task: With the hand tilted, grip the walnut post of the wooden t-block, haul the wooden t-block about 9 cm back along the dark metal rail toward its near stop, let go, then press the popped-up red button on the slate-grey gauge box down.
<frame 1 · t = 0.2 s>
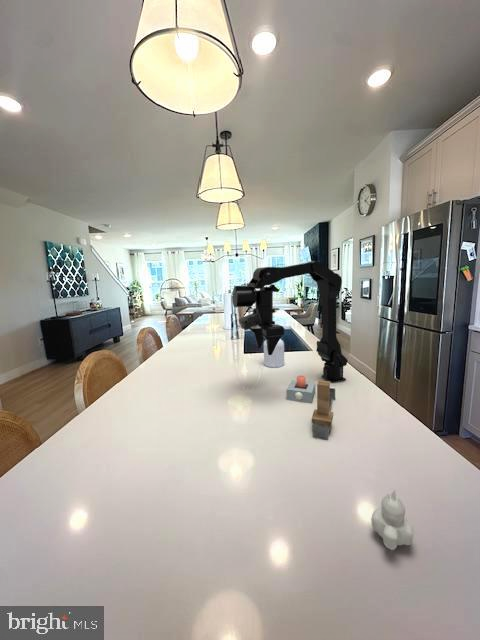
hand: (264, 351, 91), 14 cm above the counter, tool pointing down, fingers open, 9 cm apart
rail: (325, 414, 76), on the counter
soap bottle: (274, 364, 120), on the counter
gauge box: (301, 395, 88), on the counter
white animal figurine: (390, 540, 40), on the counter
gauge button: (301, 382, 88), point 5 cm above the counter, slide at 0.0 cm
wooden t-block: (322, 404, 69), point 7 cm above the counter, slide at 0.0 cm
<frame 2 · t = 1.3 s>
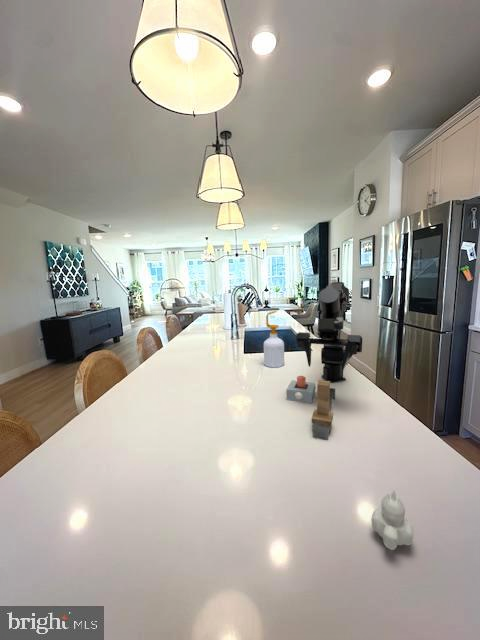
hand: (325, 367, 76), 13 cm above the counter, tool tilted 45°, fingers open, 9 cm apart
nothing on the counter moved.
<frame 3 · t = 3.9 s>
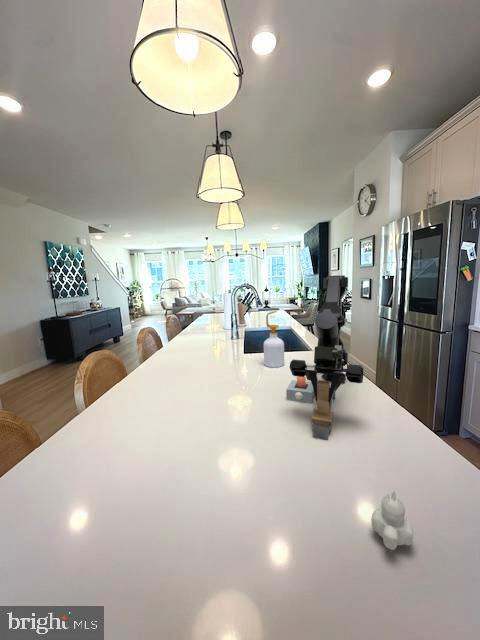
hand: (322, 401, 68), 8 cm above the counter, tool tilted 45°, fingers closed on wooden t-block, 3 cm apart
wooden t-block: (322, 404, 69), point 7 cm above the counter, slide at 0.0 cm, touching gripper
everything else where it was.
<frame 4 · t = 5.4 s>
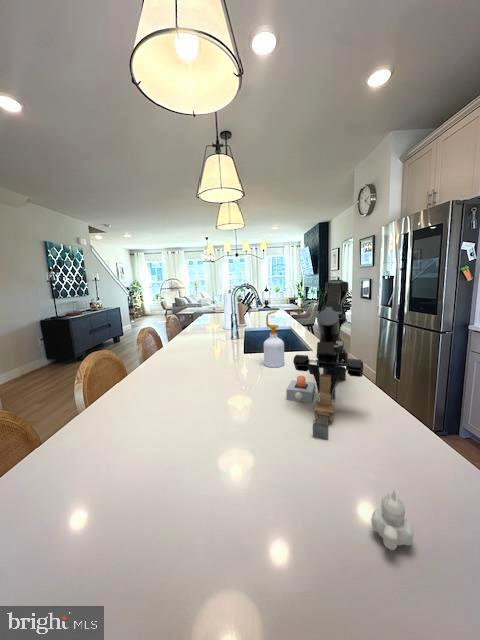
hand: (324, 393, 73), 8 cm above the counter, tool tilted 45°, fingers closed on wooden t-block, 3 cm apart
wooden t-block: (324, 396, 73), point 7 cm above the counter, slide at 4.8 cm, touching gripper
everything else where it was.
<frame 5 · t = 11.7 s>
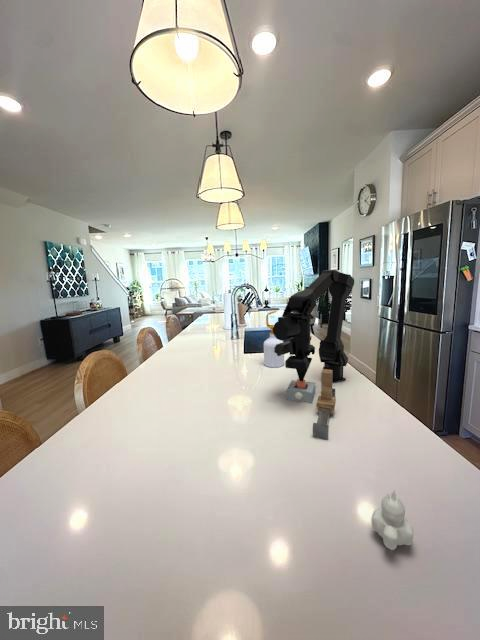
hand: (301, 380, 88), 5 cm above the counter, tool pointing down, fingers closed, pressing on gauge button
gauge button: (301, 385, 88), point 4 cm above the counter, slide at 1.1 cm, touching gripper
wooden t-block: (326, 390, 77), point 7 cm above the counter, slide at 8.9 cm
everything else where it was.
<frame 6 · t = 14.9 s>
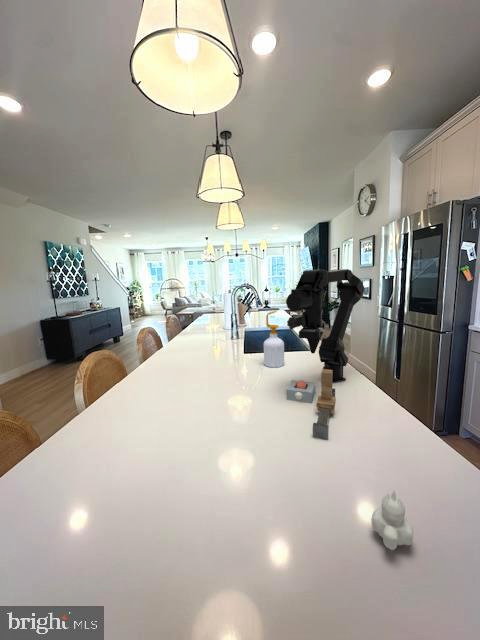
hand: (312, 353, 91), 13 cm above the counter, tool pointing down, fingers closed
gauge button: (301, 387, 88), point 3 cm above the counter, slide at 1.7 cm
everything else where it was.
at the end: wooden t-block slide at 8.9 cm; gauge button slide at 1.7 cm; the gripper is holding nothing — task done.
